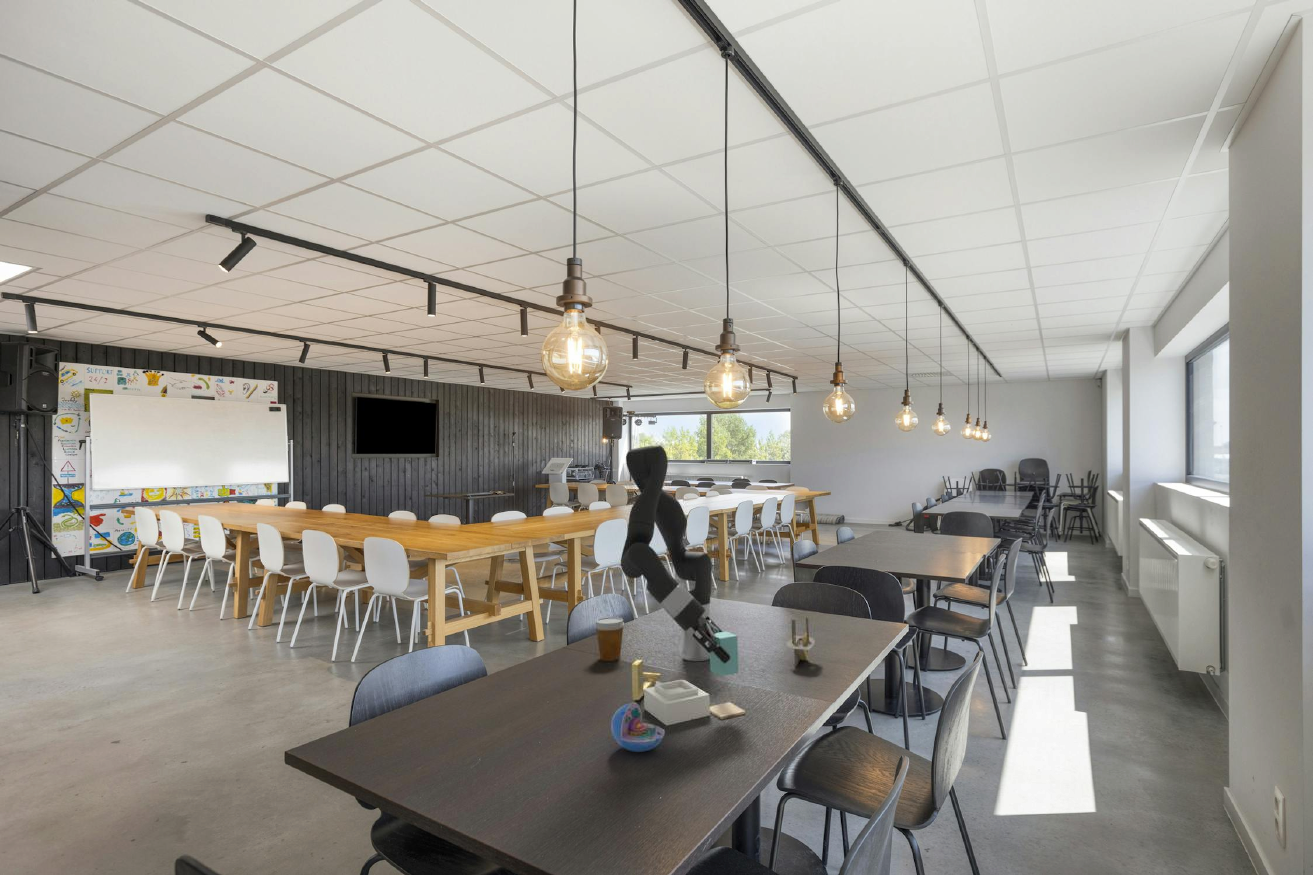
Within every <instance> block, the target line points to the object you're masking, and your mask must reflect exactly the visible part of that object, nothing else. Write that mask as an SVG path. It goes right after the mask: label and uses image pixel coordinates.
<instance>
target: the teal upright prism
mask: <svg viewBox="0 0 1313 875" xmlns="http://www.w3.org/2000/svg"><path fill="white" fill-rule="evenodd" d="M714 634H715V636H716V641H717V642H718V643H719V645H720V646H721V647H722V648H723V649H724V650H725V651H726V652H727V653H728V654H729V655H730V660H729V661H728V662H727V663H723V662H722V661H721V660H720V659H719V658H718V657H717V656H716V655H715V654H714V652H713V653H712V652H711V653H710V659H709V670H710V671H711V672H713V673H715V674H716V675H718V676H720V677H723V676H729V675H733V674H734V675H735V674H738V673H739V652H738V650H739V648H738V635H736V634H734V633H731V632H729V631H727V630H726V631H723V632H719V633H714ZM710 645H711V644H710ZM720 646H719V647H720Z"/></svg>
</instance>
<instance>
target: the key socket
mask: <svg viewBox="0 0 1313 875" xmlns="http://www.w3.org/2000/svg"><path fill="white" fill-rule="evenodd" d="M646 682H647V681H643V685H644V684H645V683H646ZM662 683H663V682H661V681H657V680H656V684H655V685H657V684H662ZM655 685H652V686H651V687H655Z"/></svg>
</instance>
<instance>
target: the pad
mask: <svg viewBox="0 0 1313 875" xmlns="http://www.w3.org/2000/svg"><path fill="white" fill-rule="evenodd" d="M710 714H712V715H713V716H715V717H717V718H718V719H719V720H725V719H728V718H733V717H734V718H735V717H737V716H738V717H739V716H742V715H745V714H746V710H744V709H742V708H741V707H738V706H737V705H735V704H733V703H732V702H730V701H728V702H724V703H719V704H715V705H711V706H710Z"/></svg>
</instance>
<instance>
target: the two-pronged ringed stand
mask: <svg viewBox="0 0 1313 875" xmlns="http://www.w3.org/2000/svg"><path fill="white" fill-rule="evenodd" d="M796 624H797V623H796V619H794V618H793V619H791V639H789V640H788V641H787V642H786V646H787V648H789V649H793V651H794V652H793V653H794V654H793V655H794V668H796V667H797V666H798V664H799V663H800V661H806V662H807V661H809V654H808V653H809V650H810V649H811V648H812V647H813V646H815V641H816V640H815V639H814V638H813V637H811V636H810V632H809V631H810V630H809V628H810V627H809V617H807V616H806V617H805V630H806V631H805V634H804V635H797V632H796V630H797V628H796V627H797V626H796ZM801 641H802V642H801ZM801 643H802V644H801Z"/></svg>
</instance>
